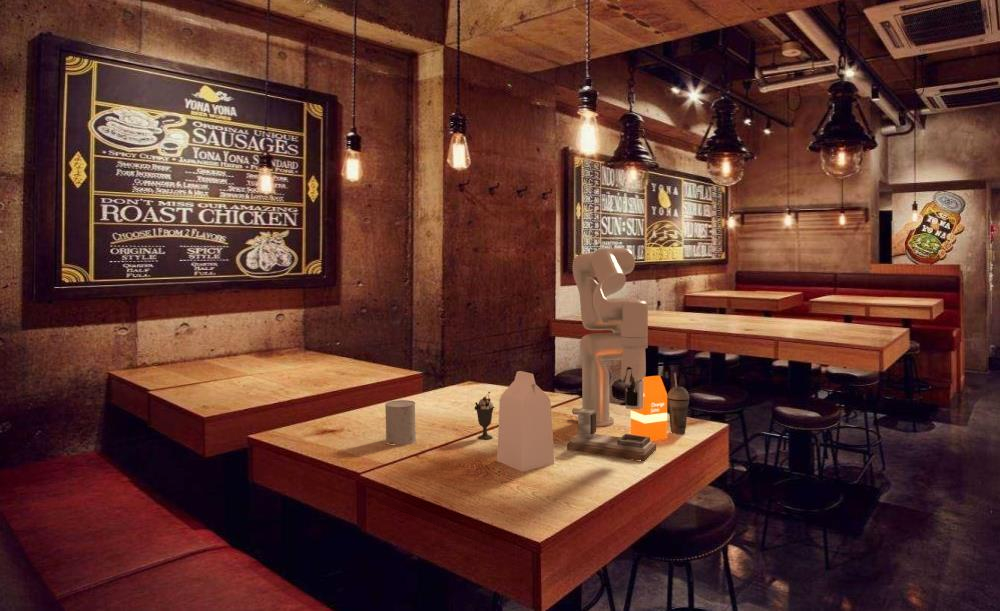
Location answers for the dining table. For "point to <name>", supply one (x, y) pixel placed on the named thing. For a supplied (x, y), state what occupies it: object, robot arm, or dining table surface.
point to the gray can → (400, 422)
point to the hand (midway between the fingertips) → (634, 403)
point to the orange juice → (651, 411)
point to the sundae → (484, 416)
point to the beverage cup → (678, 408)
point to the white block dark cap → (639, 396)
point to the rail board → (608, 441)
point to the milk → (525, 425)
